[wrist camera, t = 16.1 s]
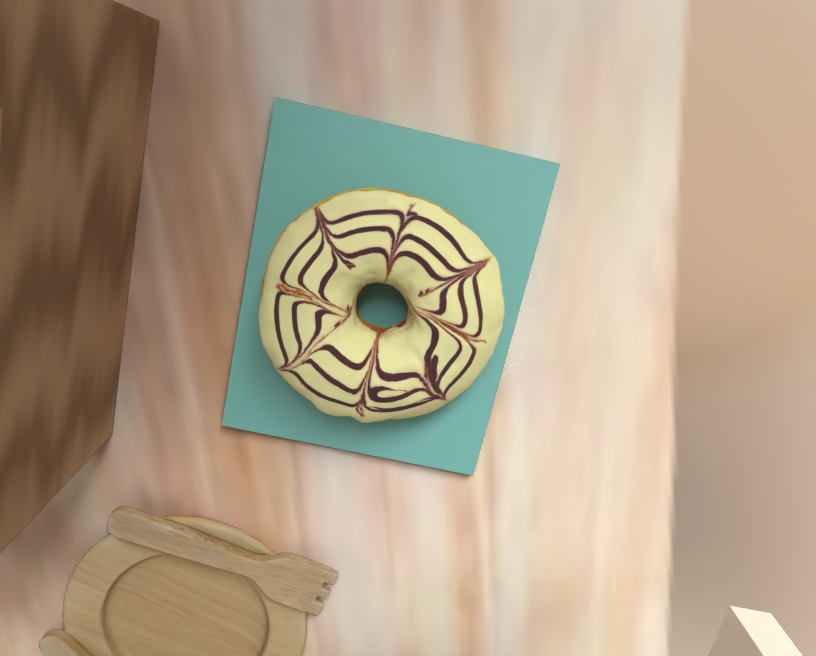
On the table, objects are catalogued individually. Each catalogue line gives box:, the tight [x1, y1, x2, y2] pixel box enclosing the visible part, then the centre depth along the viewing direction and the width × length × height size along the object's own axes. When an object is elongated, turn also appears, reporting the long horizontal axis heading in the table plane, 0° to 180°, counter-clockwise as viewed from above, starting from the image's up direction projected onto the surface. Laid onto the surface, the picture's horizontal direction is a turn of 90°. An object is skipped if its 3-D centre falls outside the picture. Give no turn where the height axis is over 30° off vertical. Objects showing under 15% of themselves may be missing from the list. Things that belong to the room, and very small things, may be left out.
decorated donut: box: [258, 187, 505, 423], centre depth 31 cm, size 10×11×4 cm
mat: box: [222, 97, 560, 475], centre depth 33 cm, size 16×13×1 cm
